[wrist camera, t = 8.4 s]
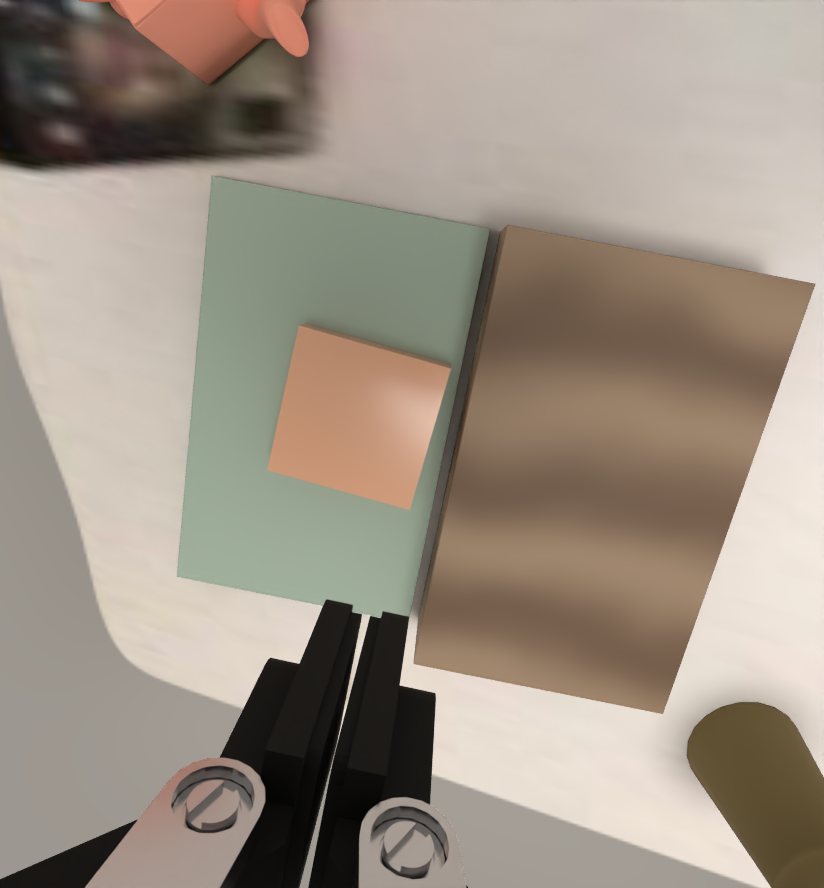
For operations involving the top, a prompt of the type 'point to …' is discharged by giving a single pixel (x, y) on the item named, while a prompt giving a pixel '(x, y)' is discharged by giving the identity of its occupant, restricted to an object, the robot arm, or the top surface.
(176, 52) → the teapot
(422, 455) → the tile
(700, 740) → the cork
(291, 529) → the mat
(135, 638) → the top surface
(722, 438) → the board
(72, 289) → the top surface
